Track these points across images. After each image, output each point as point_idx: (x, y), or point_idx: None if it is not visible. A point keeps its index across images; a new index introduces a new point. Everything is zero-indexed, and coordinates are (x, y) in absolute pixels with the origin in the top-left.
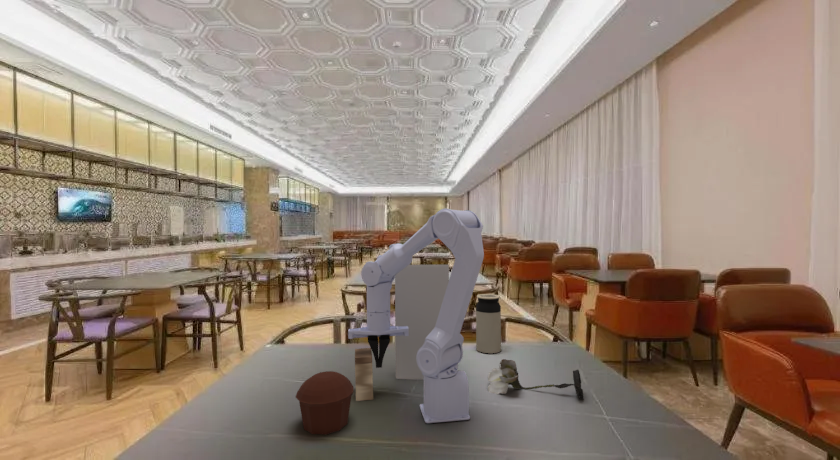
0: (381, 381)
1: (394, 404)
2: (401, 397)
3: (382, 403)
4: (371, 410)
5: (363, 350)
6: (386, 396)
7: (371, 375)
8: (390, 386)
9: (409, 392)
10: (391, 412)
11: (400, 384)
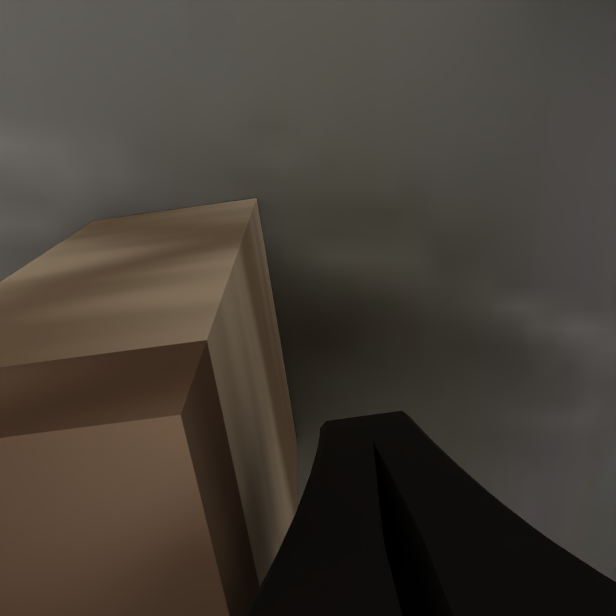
0: (346, 17)
1: None
2: (529, 407)
3: None
4: None
5: (16, 612)
6: (405, 388)
7: None
8: (446, 172)
9: (612, 316)
10: None
11: (555, 121)
